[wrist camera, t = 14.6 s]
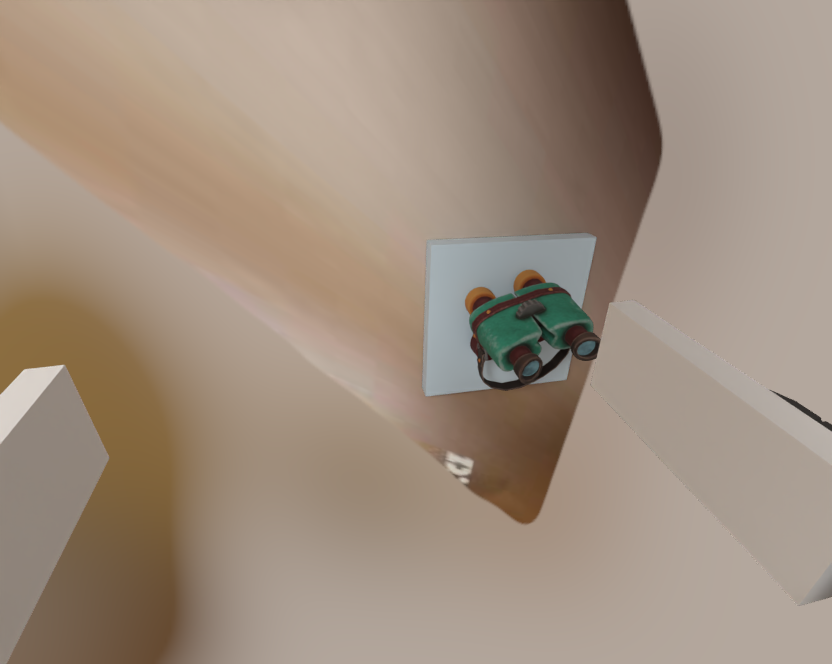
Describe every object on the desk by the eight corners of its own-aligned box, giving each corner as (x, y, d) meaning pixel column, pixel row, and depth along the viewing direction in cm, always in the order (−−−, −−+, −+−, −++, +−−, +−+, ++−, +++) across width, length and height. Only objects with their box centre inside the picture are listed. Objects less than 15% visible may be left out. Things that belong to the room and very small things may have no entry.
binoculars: (515, 451, 35) (498, 358, 29) (470, 370, 44) (450, 285, 38) (619, 412, 36) (622, 313, 30) (554, 339, 44) (547, 251, 38)
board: (426, 240, 37) (431, 245, 36) (587, 232, 40) (596, 237, 39) (422, 387, 44) (425, 396, 43) (559, 372, 47) (566, 379, 46)
